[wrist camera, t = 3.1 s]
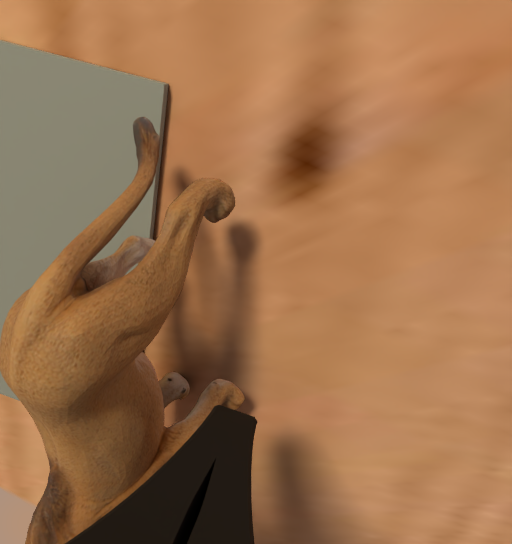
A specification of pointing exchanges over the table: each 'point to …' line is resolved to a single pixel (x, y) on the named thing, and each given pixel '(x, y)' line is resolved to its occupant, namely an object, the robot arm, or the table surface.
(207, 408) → the lion figurine
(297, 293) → the table surface
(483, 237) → the table surface
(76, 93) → the mat
